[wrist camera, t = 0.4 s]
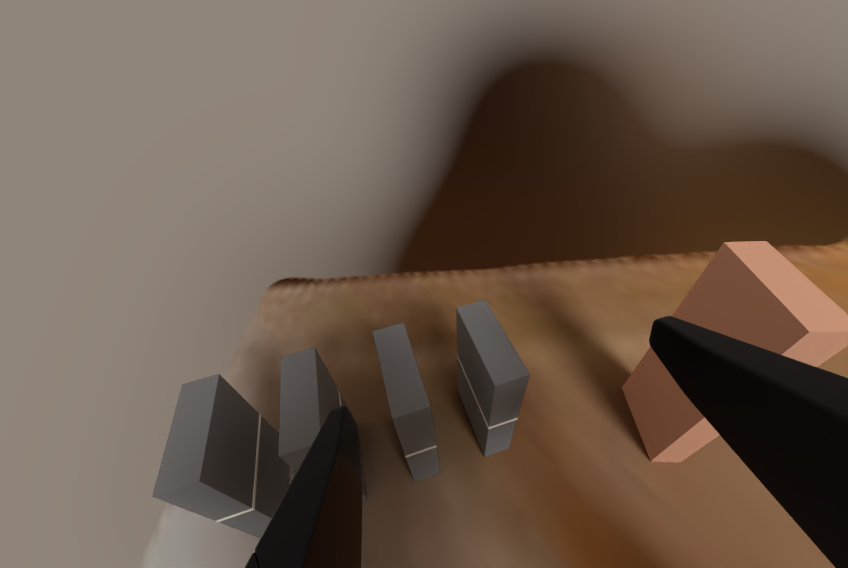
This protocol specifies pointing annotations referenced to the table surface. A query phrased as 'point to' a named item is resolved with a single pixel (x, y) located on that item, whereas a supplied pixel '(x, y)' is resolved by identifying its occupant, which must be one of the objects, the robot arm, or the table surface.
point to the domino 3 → (407, 400)
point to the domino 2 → (305, 405)
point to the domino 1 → (222, 458)
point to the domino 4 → (488, 376)
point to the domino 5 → (741, 319)
